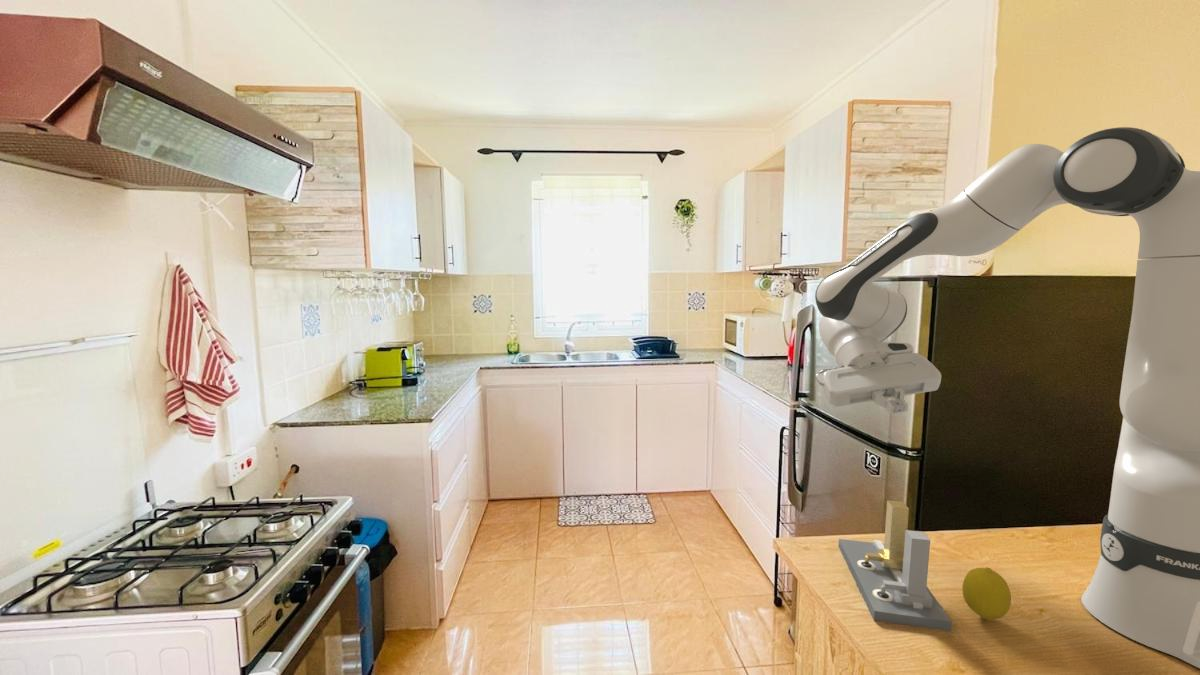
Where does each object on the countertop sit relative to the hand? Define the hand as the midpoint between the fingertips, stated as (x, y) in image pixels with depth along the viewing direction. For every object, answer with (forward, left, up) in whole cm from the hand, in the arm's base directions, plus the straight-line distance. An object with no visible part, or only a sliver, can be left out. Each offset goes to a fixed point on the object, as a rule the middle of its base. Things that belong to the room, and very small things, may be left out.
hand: (899, 410), depth 85 cm
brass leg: (+4, +10, -25) cm, 27 cm away
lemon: (-7, +18, -27) cm, 33 cm away
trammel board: (+4, +12, -27) cm, 29 cm away
